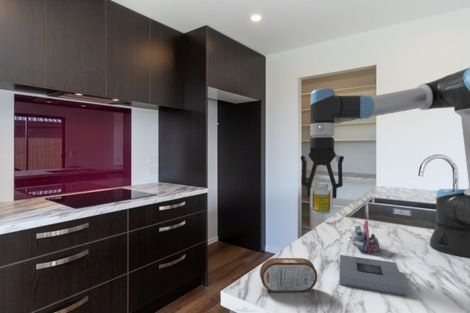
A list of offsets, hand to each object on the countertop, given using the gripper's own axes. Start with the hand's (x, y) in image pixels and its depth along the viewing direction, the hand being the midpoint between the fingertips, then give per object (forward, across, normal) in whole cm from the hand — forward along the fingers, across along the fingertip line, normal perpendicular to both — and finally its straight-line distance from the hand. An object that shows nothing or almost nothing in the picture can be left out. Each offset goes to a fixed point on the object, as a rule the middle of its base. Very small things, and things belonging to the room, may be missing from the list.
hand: (321, 207), depth 89 cm
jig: (+18, +14, -5) cm, 24 cm away
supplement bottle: (+2, 0, 0) cm, 2 cm away
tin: (+19, -6, -22) cm, 30 cm away
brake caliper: (+19, +14, +19) cm, 30 cm away
